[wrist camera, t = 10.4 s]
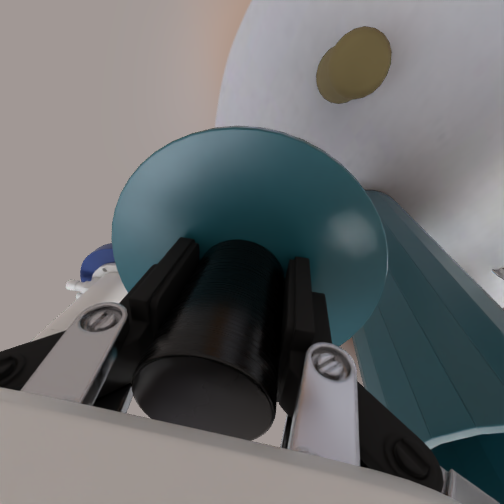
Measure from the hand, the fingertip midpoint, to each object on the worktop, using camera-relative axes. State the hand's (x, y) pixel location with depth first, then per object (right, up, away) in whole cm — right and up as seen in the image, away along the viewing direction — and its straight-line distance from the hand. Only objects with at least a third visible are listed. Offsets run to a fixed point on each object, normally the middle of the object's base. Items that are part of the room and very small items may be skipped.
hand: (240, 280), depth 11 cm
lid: (0, 0, +1) cm, 1 cm away
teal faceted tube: (+17, +5, +29) cm, 34 cm away
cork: (+11, +22, +21) cm, 32 cm away
